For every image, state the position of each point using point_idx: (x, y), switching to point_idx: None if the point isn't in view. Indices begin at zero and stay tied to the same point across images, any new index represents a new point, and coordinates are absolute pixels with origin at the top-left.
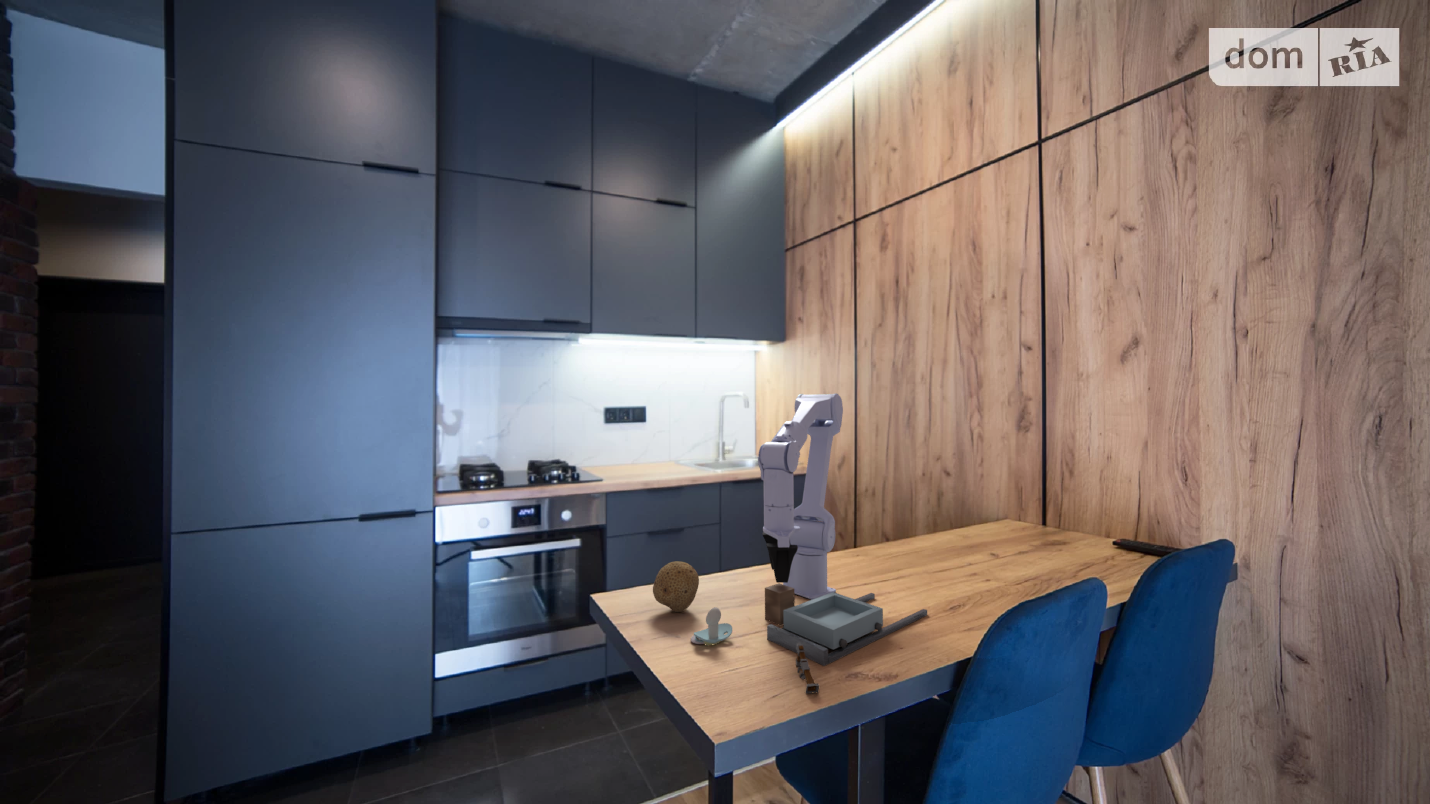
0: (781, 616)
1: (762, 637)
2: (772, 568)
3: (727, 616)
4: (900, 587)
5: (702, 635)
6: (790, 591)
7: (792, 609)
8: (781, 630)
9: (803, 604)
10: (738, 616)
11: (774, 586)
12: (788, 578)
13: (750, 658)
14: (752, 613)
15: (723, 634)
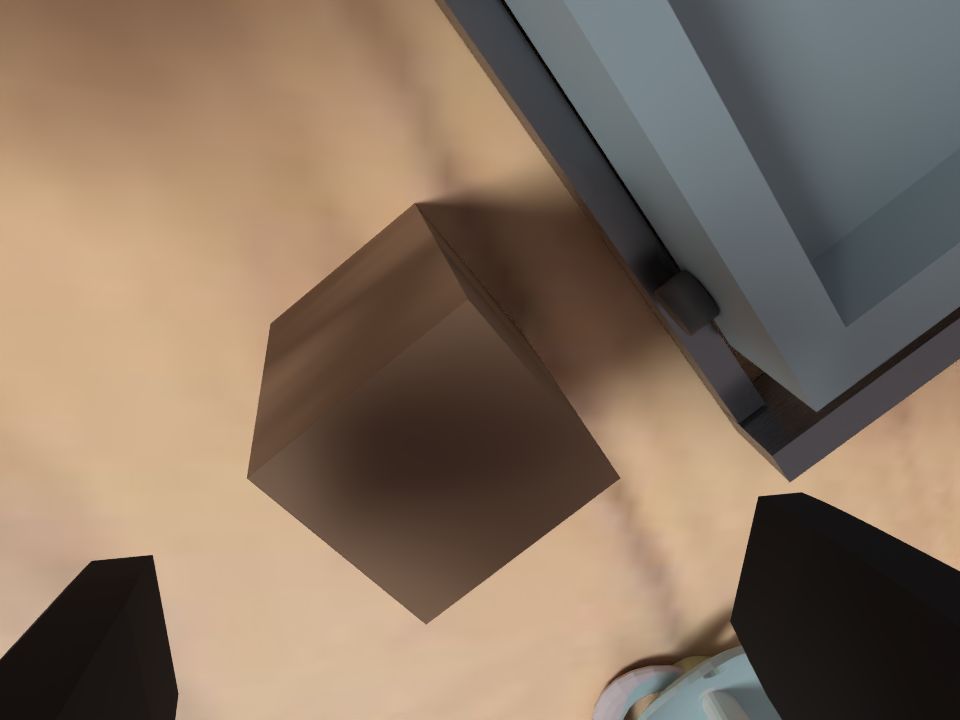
0: (534, 352)
1: (700, 457)
2: (174, 707)
3: (346, 671)
4: None
5: None
6: (511, 346)
7: (824, 331)
8: (890, 389)
9: (722, 199)
10: (344, 611)
11: (378, 531)
12: (851, 515)
13: (925, 512)
14: (280, 528)
15: (715, 675)
